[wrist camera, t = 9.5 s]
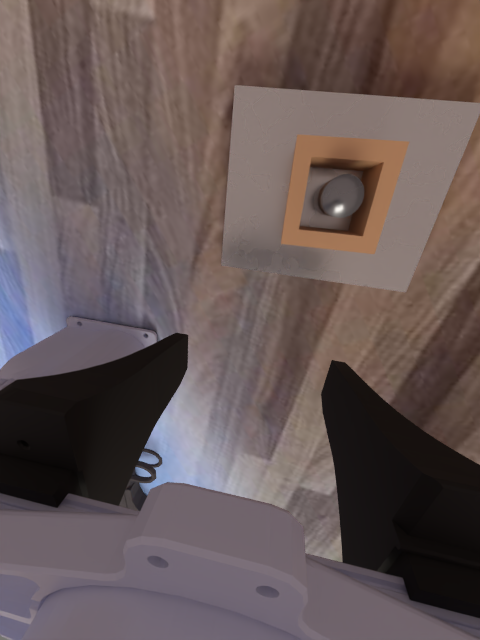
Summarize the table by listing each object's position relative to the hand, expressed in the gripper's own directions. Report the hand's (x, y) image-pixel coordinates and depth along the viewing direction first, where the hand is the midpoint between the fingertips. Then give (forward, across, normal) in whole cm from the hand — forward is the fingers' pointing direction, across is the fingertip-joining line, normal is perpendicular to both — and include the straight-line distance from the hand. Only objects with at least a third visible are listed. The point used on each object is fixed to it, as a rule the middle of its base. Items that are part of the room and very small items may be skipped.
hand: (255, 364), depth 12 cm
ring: (+9, -3, -8) cm, 12 cm away
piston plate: (+10, -3, -8) cm, 13 cm away
